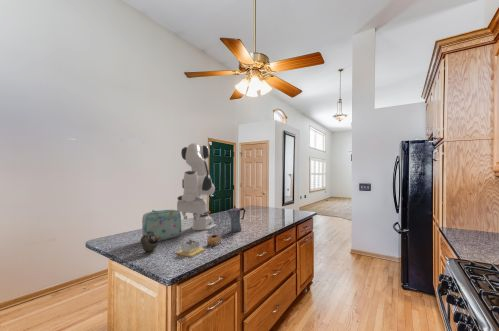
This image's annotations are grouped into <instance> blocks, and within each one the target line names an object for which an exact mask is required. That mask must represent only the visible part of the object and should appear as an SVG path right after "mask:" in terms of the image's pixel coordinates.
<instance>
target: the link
mask: <svg viewBox="0 0 499 331" xmlns="http://www.w3.org/2000/svg"><path fill="white" fill-rule="evenodd" d="M199 248H200V245H199V240H195V239H193V243H191V244H189V240H188V241H185V242H183V243H181V250H182V252H184V253H189V254H190V253H192V252H194V251H196V250H198V249H199Z"/></svg>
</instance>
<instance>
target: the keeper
mask: <svg viewBox="0 0 499 331" xmlns="http://www.w3.org/2000/svg"><path fill="white" fill-rule="evenodd" d="M193 240H194V239H192V238H190V239H188V241H189V244H191V243H193ZM205 251H206V249H205V248H202V247H199V249H198V250H196V251H194V252H192V253H190V254H189V253H184V252H182V249H180V250H178V251H176V252H175V254H176V255H179V256H184V257H187V258H193V257H195V256H197V255H199V254H202V253H203V252H205Z"/></svg>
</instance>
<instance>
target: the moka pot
mask: <svg viewBox="0 0 499 331" xmlns="http://www.w3.org/2000/svg"><path fill="white" fill-rule="evenodd" d="M241 211H243V214H242V217H241ZM227 213H228V215H229V216H230V221H231V222H230V231H231V232H233V233H237V232H241V231H242V225H241V220H244V218H245V213H246V209H245V208H244V207H239V208H237V207H236V205H234V206H233V208H231V209H228V210H227Z"/></svg>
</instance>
